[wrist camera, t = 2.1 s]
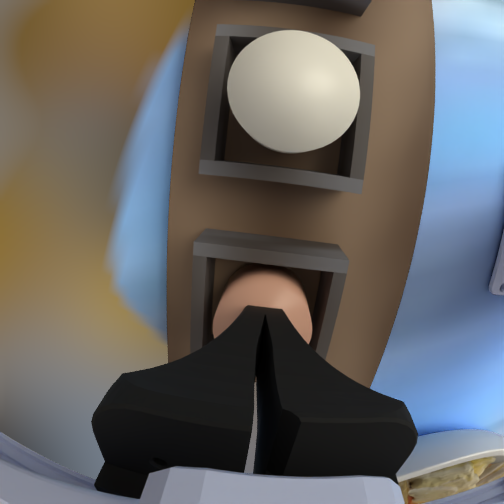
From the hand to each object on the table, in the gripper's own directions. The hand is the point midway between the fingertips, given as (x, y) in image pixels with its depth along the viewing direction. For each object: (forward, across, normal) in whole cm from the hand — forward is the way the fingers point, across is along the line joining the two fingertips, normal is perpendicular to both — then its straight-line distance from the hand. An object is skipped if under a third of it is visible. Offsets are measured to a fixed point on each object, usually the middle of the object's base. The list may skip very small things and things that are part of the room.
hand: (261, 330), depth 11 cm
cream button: (+1, 0, -8) cm, 8 cm away
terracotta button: (+2, 0, 0) cm, 2 cm away
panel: (+4, -1, -8) cm, 9 cm away
